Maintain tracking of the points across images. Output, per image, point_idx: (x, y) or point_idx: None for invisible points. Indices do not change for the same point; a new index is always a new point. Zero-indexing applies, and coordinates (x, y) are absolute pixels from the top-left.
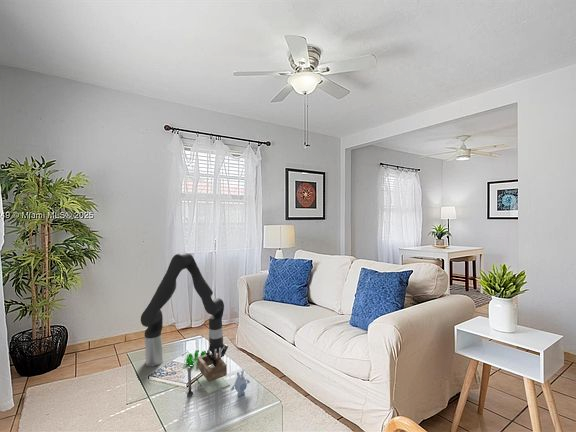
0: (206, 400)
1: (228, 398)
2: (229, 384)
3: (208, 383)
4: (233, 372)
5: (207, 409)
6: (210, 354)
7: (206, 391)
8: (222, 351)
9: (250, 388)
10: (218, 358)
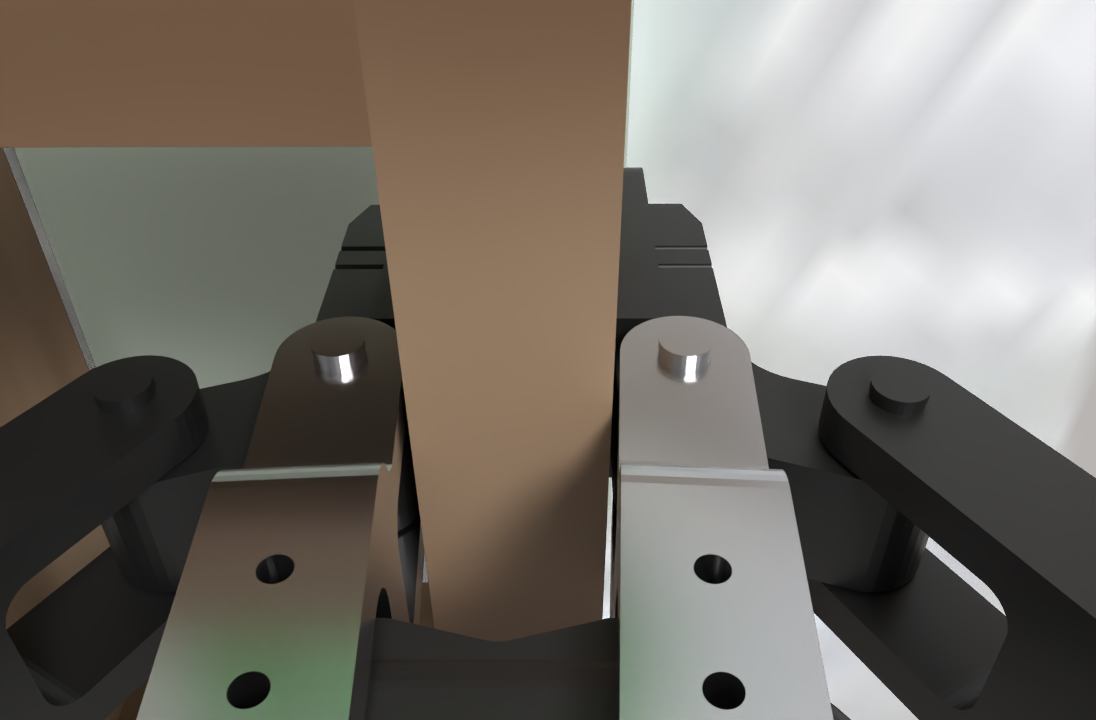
0: None
1: None
2: (608, 508)
3: (213, 260)
4: (972, 160)
5: None
6: (212, 108)
7: None
8: (994, 546)
9: (838, 689)
10: None
